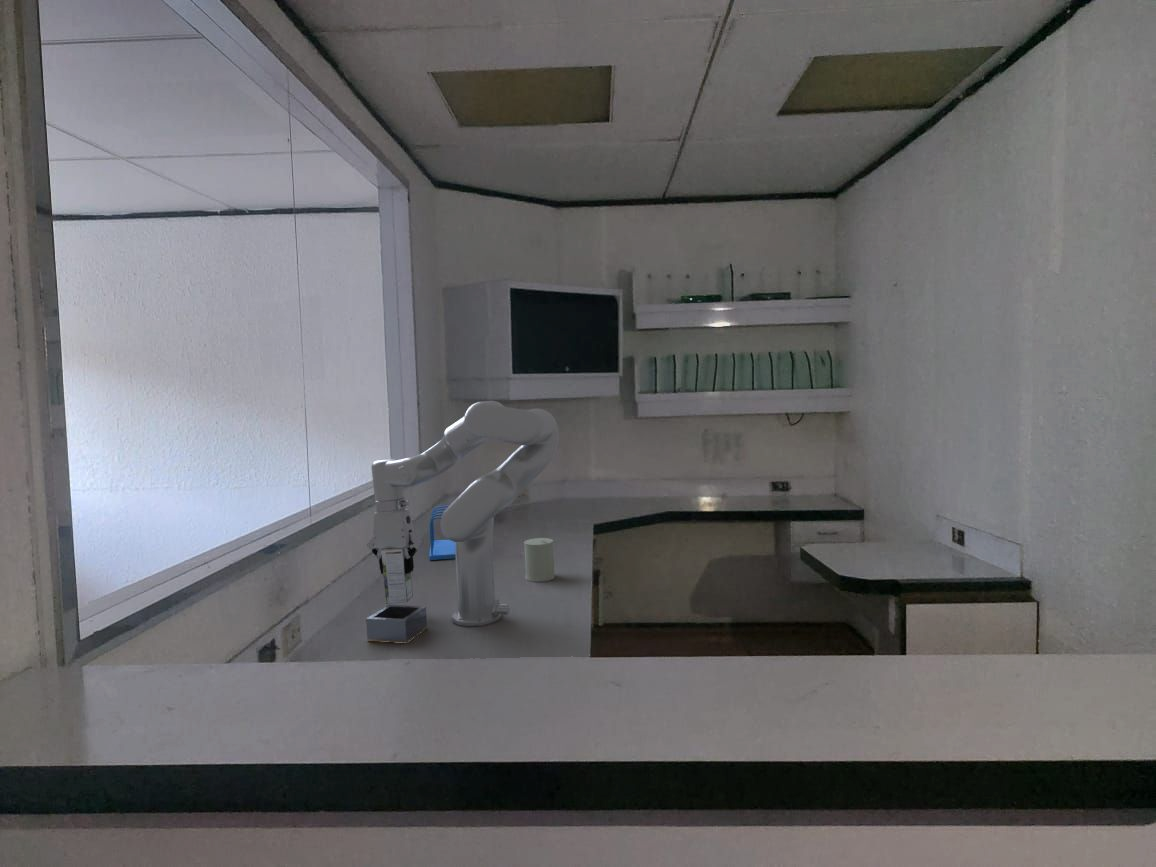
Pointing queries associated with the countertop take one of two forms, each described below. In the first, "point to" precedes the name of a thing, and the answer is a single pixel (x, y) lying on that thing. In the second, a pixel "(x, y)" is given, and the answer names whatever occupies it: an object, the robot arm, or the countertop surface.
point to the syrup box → (396, 577)
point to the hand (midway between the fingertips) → (397, 571)
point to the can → (539, 559)
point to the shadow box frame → (396, 623)
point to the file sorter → (440, 541)
